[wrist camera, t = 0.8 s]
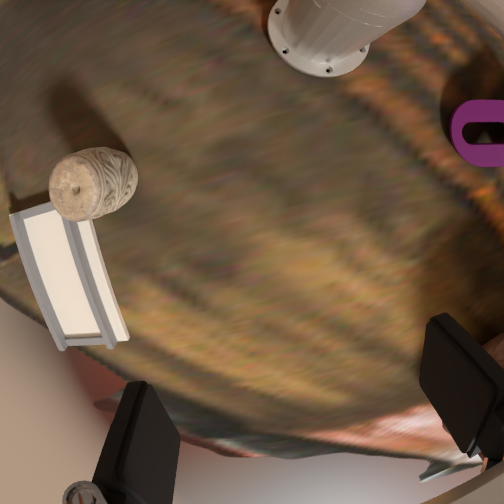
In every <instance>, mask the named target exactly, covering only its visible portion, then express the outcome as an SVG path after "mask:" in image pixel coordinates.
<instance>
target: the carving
mask: <svg viewBox="0 0 504 504" xmlns="http://www.w3.org/2000/svg"><path fill="white" fill-rule="evenodd" d="M137 181H138V173H137V169H136V166H135V164H134V162H133V160H132V159H131V158H130V157H129V156H128V155H127V154H126V153H124V152H121V151H117V150H114V149H110V148H107V147H97V148H88V149H83V150H81V151H78V152H75V153H72V154H69V155H66V156H64V157H63V158H62V159H60V160H59V161H58V163H57V164H56V165H55V167H54V169H53V171H52V173H51V175H50V179H49V195H50V199H51V202H52V204H53V206H54V208H55V209H56V211H57V212H58V213H59V214H60V215H61V216H62V217H63V218H65V219H67V220H70V221H73V222H82V221H88V220H90V219H95V218H98V217H101V216H103V215H104V214H107V213H110V212H113V211H115V210H117V209H119V208H120V207H121V206H123V205H124V204H125V203H126V202H127V201H128V200H129V199H130V198H131V197H132V195H133V194H134V191H135V189H136V186H137Z"/></svg>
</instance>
